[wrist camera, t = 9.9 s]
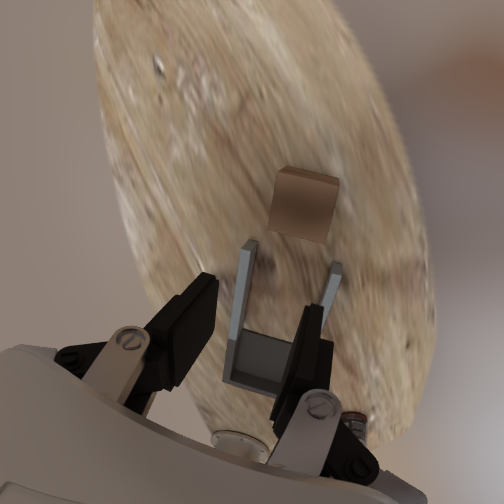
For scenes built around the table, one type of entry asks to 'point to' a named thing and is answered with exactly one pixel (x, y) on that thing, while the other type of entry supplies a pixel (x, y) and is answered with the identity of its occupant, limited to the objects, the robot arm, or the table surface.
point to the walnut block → (303, 204)
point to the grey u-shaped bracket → (258, 345)
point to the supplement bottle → (356, 425)
